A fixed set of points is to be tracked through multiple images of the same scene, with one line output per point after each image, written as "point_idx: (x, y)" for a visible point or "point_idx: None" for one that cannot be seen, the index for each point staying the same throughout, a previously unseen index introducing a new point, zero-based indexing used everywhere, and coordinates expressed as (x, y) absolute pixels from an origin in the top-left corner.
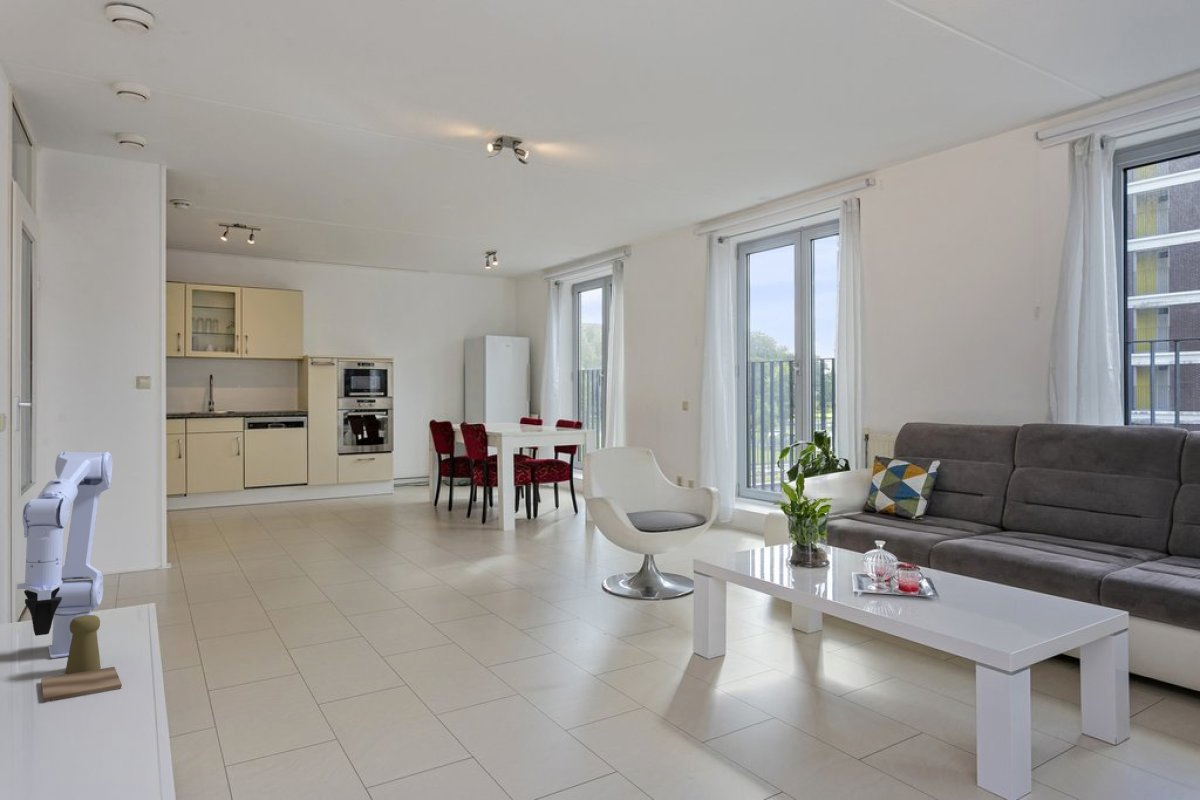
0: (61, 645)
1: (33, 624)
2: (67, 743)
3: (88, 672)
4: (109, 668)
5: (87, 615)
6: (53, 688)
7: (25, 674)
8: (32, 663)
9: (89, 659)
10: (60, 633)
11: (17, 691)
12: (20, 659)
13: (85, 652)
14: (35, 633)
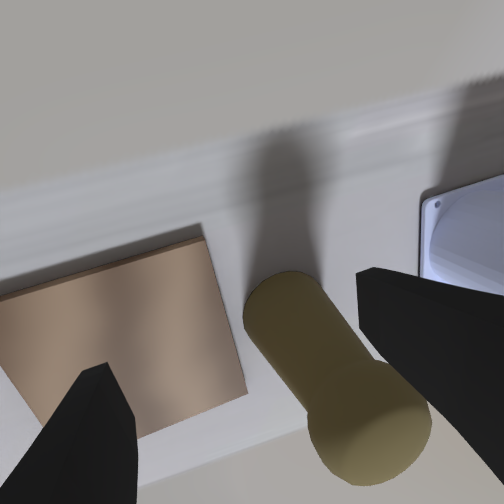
0: (459, 230)
1: (29, 452)
2: None
3: (218, 350)
4: (235, 388)
5: (404, 458)
6: (78, 308)
7: (311, 164)
8: (410, 158)
9: (266, 358)
10: (500, 238)
11: (131, 186)
12: (466, 112)
13: (273, 366)
14: (74, 385)
